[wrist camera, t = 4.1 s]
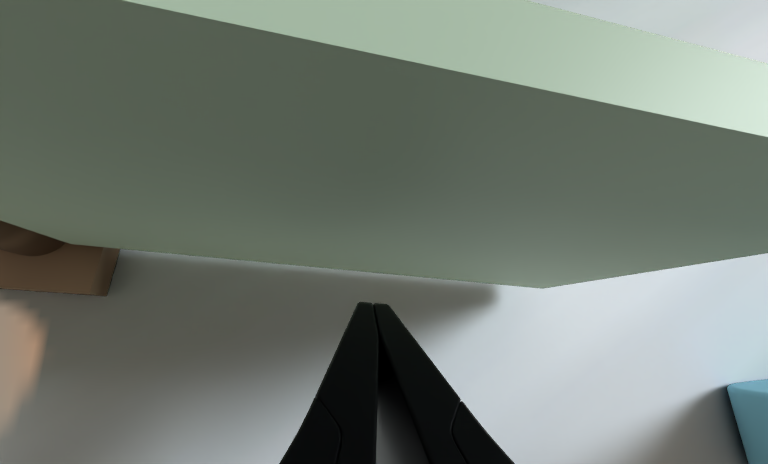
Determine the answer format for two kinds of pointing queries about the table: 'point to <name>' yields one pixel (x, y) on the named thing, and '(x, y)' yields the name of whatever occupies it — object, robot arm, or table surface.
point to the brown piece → (53, 263)
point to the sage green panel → (381, 137)
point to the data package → (752, 417)
